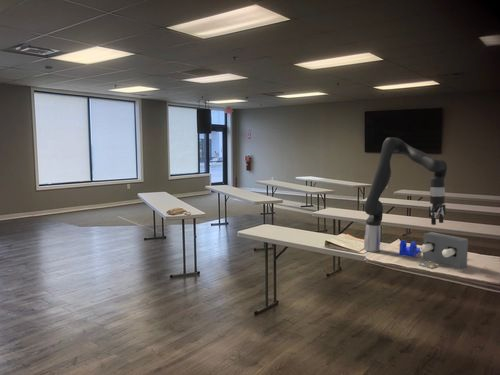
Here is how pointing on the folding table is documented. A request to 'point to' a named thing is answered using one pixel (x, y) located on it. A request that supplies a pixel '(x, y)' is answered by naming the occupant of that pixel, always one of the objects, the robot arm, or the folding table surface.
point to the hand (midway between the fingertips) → (437, 223)
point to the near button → (449, 252)
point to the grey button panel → (446, 243)
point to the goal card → (428, 265)
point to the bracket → (408, 249)
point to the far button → (427, 247)
